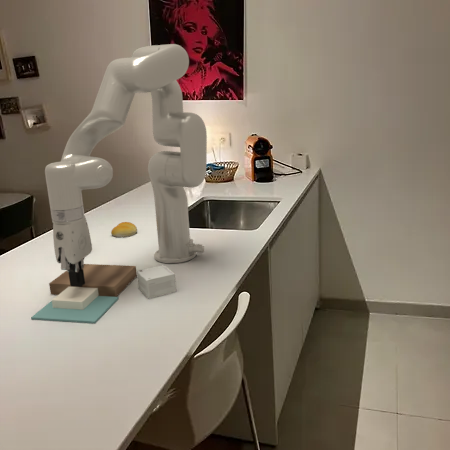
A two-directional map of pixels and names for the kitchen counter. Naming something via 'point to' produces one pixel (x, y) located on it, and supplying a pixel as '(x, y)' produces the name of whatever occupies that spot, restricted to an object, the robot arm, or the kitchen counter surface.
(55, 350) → the kitchen counter surface
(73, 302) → the tile
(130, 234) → the bread roll
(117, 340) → the kitchen counter surface
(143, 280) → the small box
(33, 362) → the kitchen counter surface
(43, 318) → the mat
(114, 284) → the board
